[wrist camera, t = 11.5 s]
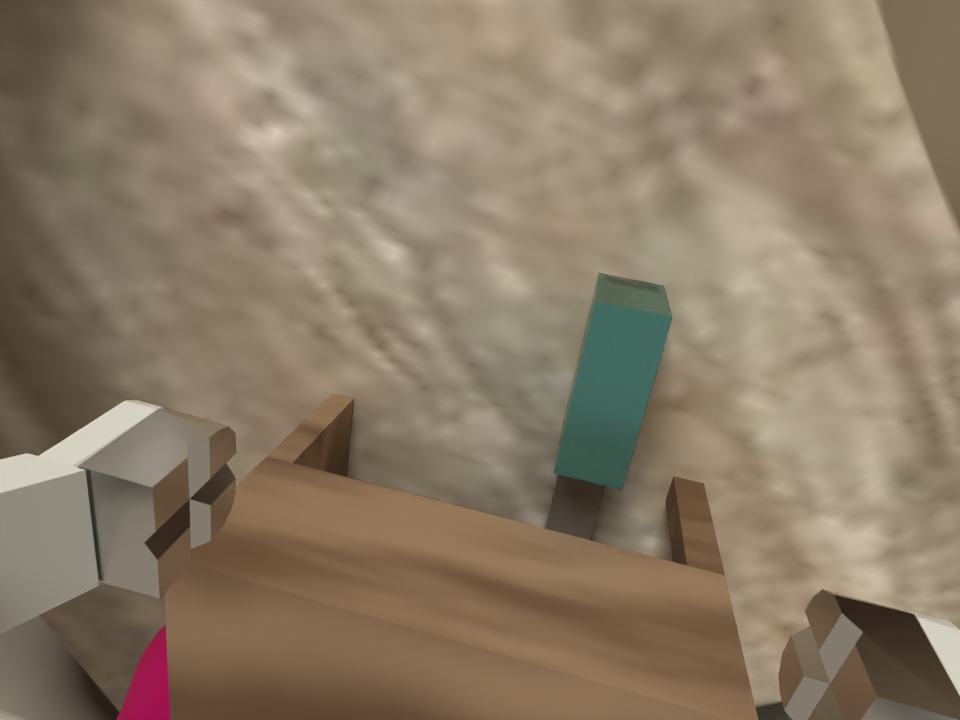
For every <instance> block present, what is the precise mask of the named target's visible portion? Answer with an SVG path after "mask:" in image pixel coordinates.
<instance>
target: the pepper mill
mask: <svg viewBox="0 0 960 720" xmlns="http://www.w3.org/2000/svg"><path fill="white" fill-rule="evenodd" d="M116 720H170V704H169V682H168V661H167V639H166V625H165V626H164V627H163V628H162V629H161V630H160V631H159V632H158V633H157V635H156V636H155V637H154V639H153V640H152V641H151V643H150V644H149V645H148V647H147V648H146V650H145V652H144V654H143V655H142V657H141V659H140V661H139V663H138V665H137V668H136V670H135V673H134V676H133V679H132V682H131V685H130V687H129V690H128V693H127V696H126V699H125V701H124V704H123V707H122V709H121V712H120V714H119V715H118V717H117V719H116Z"/></svg>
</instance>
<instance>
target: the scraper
mask: <svg viewBox="0 0 960 720" xmlns="http://www.w3.org/2000/svg"><path fill="white" fill-rule="evenodd" d="M671 320H672V314H671V310H670V306H669V303H668V299H667V295H666V292H665V288H664V286H662V285H657V284H652V283H647V282H642V281H637V280H632V279H628V278H623V277H618V276H613V275H608V274H603V273H599V275H598V279H597V283H596V288H595V292H594V296H593V300H592V304H591V309H590V313H589V317H588V321H587V325H586V330H585V334H584V338H583V342H582V346H581V351H580V355H579V359H578V363H577V367H576V372H575V376H574V380H573V384H572V388H571V393H570V397H569V401H568V405H567V409H566V414H565V418H564V422H563V427H562V432H561V438H560V443H559V448H558V454H557V459H556V465H555V470H554V473H555V474H557V476H556V480H555V484H554V488H553V493H552V497H551V501H550V505H549V509H548V513H547V517H546V521H545V526H544V529H548V530H552V531H556V532H560V533H564V534H567V535H571V536H575V537H579V538H583V539H587V540H591V536H592V533H593V529H594V526H595V522H596V518H597V515H598V511H599V508H600V504H601V501H602V497H603V493H604V490H605V486H607V487H611V488H615V489H619V490H622V488H623V484H624V481H625V478H626V474H627V471H628V467H629V464H630V460H631V457H632V454H633V450H634V447H635V443H636V440H637V437H638V433H639V430H640V426H641V423H642V419H643V416H644V413H645V409H646V406H647V402H648V399H649V396H650V392H651V389H652V385H653V382H654V378H655V375H656V372H657V368H658V365H659V361H660V358H661V354H662V351H663V348H664V344H665V341H666V337H667V334H668V331H669V327H670V324H671Z"/></svg>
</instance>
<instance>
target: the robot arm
mask: <svg viewBox="0 0 960 720" xmlns="http://www.w3.org/2000/svg"><path fill="white" fill-rule="evenodd" d="M235 454H236V436H235V432H234V431H233V430H232V429H231V428H230V427H228V426H225V425H221V424H218V423H215V422H211V421H208V420H205V419H201V418H198V417H195V416H191V415H188V414H185V413H181V412H178V411H174V410H171V409H165V408H163V407H160V406H156V405H153V404H149V403H146V402H142V401H139V400H127V401H124V402H122V403H120V404H119V405H117V406H116V407H114V408H113V409H111V410H110V411H108V412H106V413H105V414H103V415H102V416H100V417H99V418H97V419H95V420H94V421H92V422H91V423H89V424H88V425H86V426H85V427H83V428H81V429H80V430H78V431H77V432H75V433H74V434H72V435H70V436H69V437H67V438H66V439H64V440H63V441H61V442H60V443H58V444H56V445H55V446H53V447H52V448H50V449H49V450H47V451H45V452H44V453H42V454H41V455H39V456H36V455H32V454H28V453H26V454H22V455H18V456H13V457H9V458H4V459H0V634H2V633H4V632H5V631H8V630H10V629H12V628H14V627H16V626H18V625H20V624H22V623H24V622H26V621H28V620H30V619H32V618H34V617H36V616H38V615H40V614H42V613H44V612H46V611H48V610H50V609H52V608H54V607H57V606H59V605H61V604H63V603H65V602H67V601H69V600H71V599H73V598H75V597H77V596H79V595H81V594H83V593H85V592H87V591H89V590H91V589H93V588H95V587H97V586H99V582H102V583H105V584H109V585H113V586H116V587H120V588H123V589H127V590H131V591H134V592H138V593H142V594H145V595H149V596H153V597H156V598H161V596H162V595H163V594H164V593H165V592H166V591H167V590H168V589H169V588H170V586H171V585H172V584H173V583H174V582H175V581H176V580H177V579H178V577H179V576H180V575H181V574H182V573H183V572H184V571H185V570H186V569H187V567H188V566H189V565H190V564H191V549H192V548H195V547H197V546H200V545H202V544H205V543H207V542H210V541H211V540H212V539H213V538H214V537H215V536H216V534H217V533H218V532H219V531H220V530H221V528H222V527H223V525H224V523H225V521H226V519H227V517H228V515H229V513H230V511H231V509H232V506H233V502H234V497H235V493H236V478H235V476H234V475H233V473H232V471H231V470H230V468H229V467H228V465H227V462H228V461H229V460H230V459H231V458H232V457H233V456H234V455H235ZM805 612H806V615H807V618H808V621H809V624H810V627H808V628H806V629H804V630H801V631H799V632H797V633H795V634H793V635H791V637H790V639H789V641H788V643H787V645H786V647H785V649H784V651H783V653H782V659H781V665H780V671H779V685H780V694H781V699H782V703H783V707H784V710H785V712H786V713H787V714H788V715H789V716H790V718H791V719H792V720H960V630H959V629H958V628H957V627H956V626H954V625H953V624H952V623H950V622H949V621H947V620H943V619H939V618H935V617H931V616H927V615H923V614H919V613H915V612H911V611H907V610H905V611H901V610H898V609H894V608H890V607H886V606H883V605H879V604H875V603H871V602H868V601H864V600H860V599H857V598H853V597H849V596H845V595H842V594H838V593H834V592H830V591H827V590H823V589H822V590H821V591H820V592H819V593H817V594H816V595H815V596H813V598H812V600H811V601H810V603H809V605H808V607H807V608H806V610H805ZM0 720H30V719H27V718H24V717H21V716H18V715H15V714H12V713H9V712H6V711H3V710H0Z"/></svg>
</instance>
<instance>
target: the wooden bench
mask: <svg viewBox="0 0 960 720" xmlns="http://www.w3.org/2000/svg"><path fill="white" fill-rule="evenodd" d="M352 410H353V399H352V398H348V397H344V396H339V395H335V394H332V395H331V396H330V397H329V398H328V399H327V400H326V401H325V402H324V403H323V404H322V405H321V406H320V407H319V408H318V409H316V410H315V411H314V412H313V413H312V414H311V415H310V416H309V417H308V418H307V419H306V420H305V421H304V422H303V423H302V424H301V425H300V426H299V427H298V428H297V429H295V430H294V431H293V432H292V433H291V434H290V435H289V436H288V437H287V438H286V439H285V440H284V441H283V442H282V443H281V444H280V445H279V446H278V447H277V448H276V449H275V450H273V451H272V452H271V453H270V454H269V455H268V456H267V457H266V458H265V459H264V460H263V461H262V462H261V463H260V464H259V465H258V466H257V467H256V468H255V469H254V470H252V471H251V472H250V473H249V474H248V475H247V476H246V477H245V478H244V479H243V480H242V481H241V482H240V483H239V484H238V485H237V486H236V493H235V497H234V502H233V506H232V509H231V511H230V513H229V515H228V517H227V519H226V521H225V523H224V525H223V527H222V528H221V530H220V531H219V532H218V533H217V534H216V536H215V537H214V538H213V539H212V540H211V541H210V542H207V543H205V544H202V545H200V546H197V547H195V548H192V549H191V564H190V565H189V566H188V567H187V569H186V570H185V571H184V572H183V573H182V574H181V575H180V576H179V577H178V579H177V580H176V581H175V582H174V583H173V584H172V585H171V586H170V588H169V589H168V590H167V591H166V592H165V593H164V596H165V618H166V639H167V661H168V682H169V704H170V720H758V718H757V713H756V709H755V704H754V700H753V696H752V691H751V687H750V683H749V678H748V674H747V670H746V665H745V661H744V657H743V652H742V648H741V644H740V639H739V635H738V631H737V626H736V622H735V618H734V613H733V609H732V604H731V600H730V596H729V591H728V587H727V583H726V578H725V574H724V570H723V565H722V561H721V557H720V552H719V548H718V544H717V539H716V535H715V531H714V526H713V522H712V518H711V513H710V509H709V505H708V500H707V496H706V492H705V487H704V484H703V483H699V482H694V481H690V480H686V479H682V478H678V477H673V480H672V483H671V487H670V490H669V493H668V496H667V499H666V506H667V515H668V523H669V531H670V539H671V548H672V556H673V562H671V561H667V560H664V559H660V558H656V557H652V556H648V555H644V554H640V553H637V552H633V551H629V550H625V549H621V548H617V547H614V546H610V545H606V544H602V543H598V542H594V541H590V540H587V539H583V538H579V537H575V536H571V535H567V534H564V533H560V532H556V531H552V530H548V529H544V528H540V527H537V526H533V525H529V524H525V523H521V522H517V521H514V520H510V519H506V518H502V517H498V516H494V515H490V514H487V513H483V512H479V511H475V510H471V509H467V508H464V507H460V506H456V505H452V504H448V503H444V502H440V501H437V500H433V499H429V498H425V497H421V496H417V495H414V494H410V493H406V492H402V491H398V490H394V489H390V488H387V487H383V486H379V485H375V484H371V483H367V482H364V481H360V480H356V479H352V478H348V477H347V467H348V455H349V444H350V433H351V422H352Z"/></svg>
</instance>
